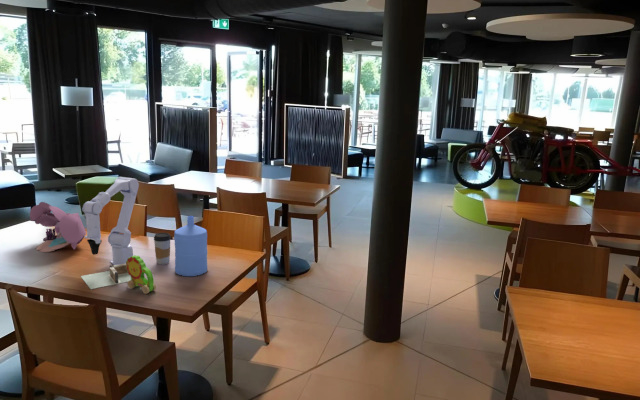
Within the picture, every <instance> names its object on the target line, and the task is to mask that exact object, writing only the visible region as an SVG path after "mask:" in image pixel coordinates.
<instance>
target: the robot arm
mask: <svg viewBox="0 0 640 400" xmlns="http://www.w3.org/2000/svg"><path fill="white" fill-rule="evenodd" d="M138 181H139V180H138V179H137V178H134V177H133V178H132V177H125V176H118V177H117V178H116V179H114V181H113V182H114V183H113V184H111V186H110V187H109V188H107V189H106V191H105V192H104V191H101V192H100V191H99V192H98V194H97V195H96V196H95V197H93V198H92V199H91V200H90V201H89V200H88V201H85V203H83V205H82V208H81V210H82V212H83V213H84V216H85V219H86V220H85V222H86V224H85V225H86V235H85V236H84V239H87V240H86V242H87V244H89V247H90V251H91V254H92V255H98V254H99V251H100V250H99V249H100V246H101V244H102V239H101V237H102V234H101V221H100V220H101V219H100V214H101V213H102V210H103V208H104V207H105V206H106V205H107V204H108V203H110V201H111V198H112V197H113V196H115V194H118V193H119V192H120V193H121V194H122V195H123V201H122V205H121V209H120V212H119V216H118V219H117V223H116V226H115V227H113V228H112V229H111V231H110V233H109V234H108V236H107V242H108V244H109V245H110V247H111V252H112V255H111V256H112V260H110V261H109V262H110V263H111V264H112V266H114V265H119V264H125V263H126V261H127V259H128V258H129V257H131V256H134V251H133V246H132V244H130V243H131V235H132V232H131V230H129V229H128V228H129V224H130V221H131V217H132V214H133V209H134V206H135V202H136V198H137V195H138V190H139V187H140V183H139V182H138Z"/></svg>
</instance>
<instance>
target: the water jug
mask: <svg viewBox="0 0 640 400" xmlns="http://www.w3.org/2000/svg"><path fill="white" fill-rule="evenodd" d="M186 218H187V219H186V220H187V223H186V225H184V226H180V227H179V228H177V229H175V230H174V236H173V239H174V257H175V258H174V271H175V273H176V274H177V275H178V276H181V275H182V276H183V277H197V275H198V276H201V275H204V274H206V272H207V271H208V231H207V230H208V229H206V228H204V227H202V226H199V225H196V224H195V217H194V215H189V216H186ZM203 273H204V274H203Z"/></svg>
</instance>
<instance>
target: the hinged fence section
mask: <svg viewBox="0 0 640 400" xmlns="http://www.w3.org/2000/svg"><path fill="white" fill-rule="evenodd" d="M109 271H110V274H111V277H112V279H113V280H114V281H115V283H118V272H117V271H116V270H115V268H114V267H113V266H112V267H110V266H109Z"/></svg>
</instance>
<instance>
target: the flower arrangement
mask: <svg viewBox="0 0 640 400" xmlns="http://www.w3.org/2000/svg"><path fill="white" fill-rule="evenodd" d="M29 218H30V220H31V222H33V221H34V223H35V224H36V225H39V224H40V225H41V226H42V227H47V228H46V231H45V237H44V238H42V242H41V243H40V244H39V245H38V246H36V248H35V249H36V251H38V252H44V253H49V252H54V251H55V250H58V249H59V250H60V249H62V248H65V247H67V246H69V245H71V248H72V249H73V250H76V248H77V246H78V245H79V244H81V242H82V241H83V239H85V236H87V230H86V229H85V227H84V224H83V221H82V219H81V217H80V215H79V212H76V213H75V212H74V213H70V212H67V213H66V212H65V211H64V210H62V209H61V208H59V207H57V206H54V205H51V204H49V203H47V202H46V201H40V202H39V203H38V204H36V205H33V206H32V207H31V209H30V211H29ZM48 227H54V228H48Z"/></svg>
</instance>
